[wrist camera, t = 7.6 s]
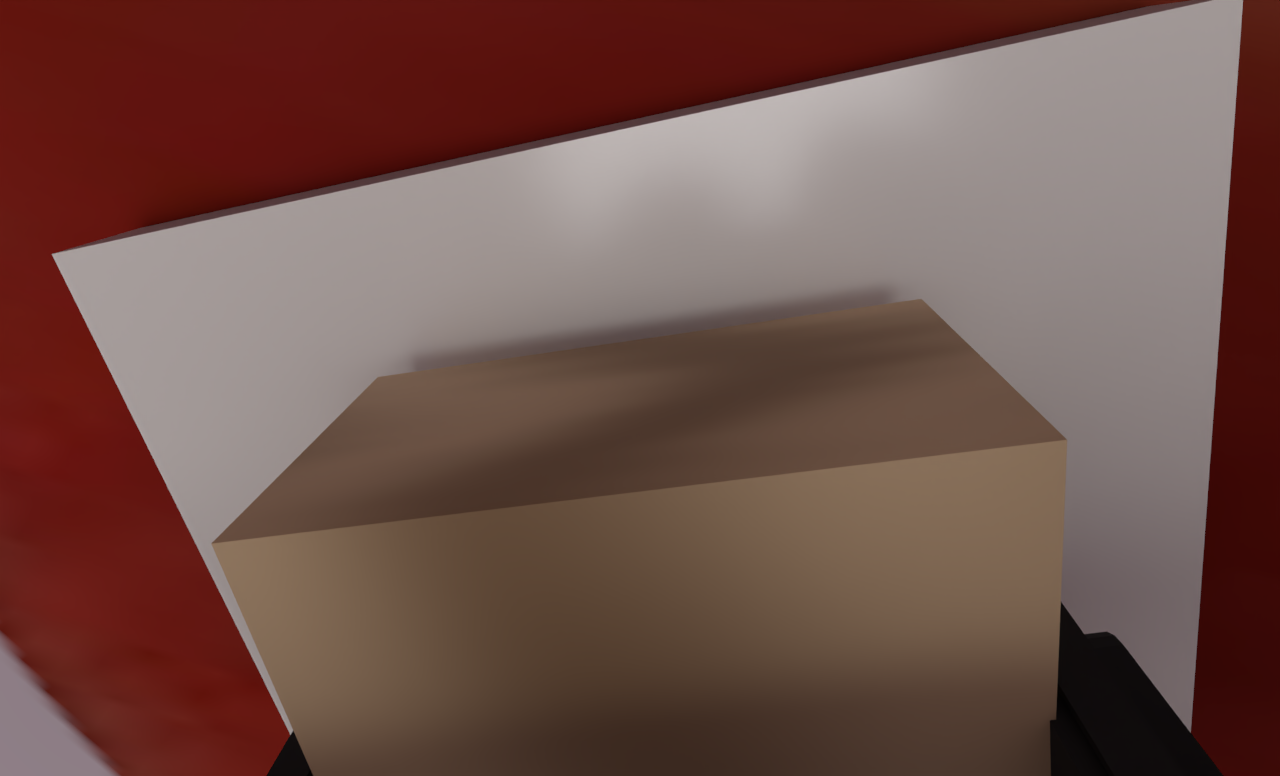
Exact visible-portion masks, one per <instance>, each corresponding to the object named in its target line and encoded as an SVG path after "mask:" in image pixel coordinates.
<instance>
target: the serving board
mask: <svg viewBox="0 0 1280 776" xmlns="http://www.w3.org/2000/svg"><path fill="white" fill-rule="evenodd" d="M1242 7H1243V0H1191V1H1184V2H1176V3H1169V4H1161V5H1154V6H1148V7H1143V8H1139V9H1134V10H1129V11H1125V12H1120V13H1116V14H1111V15H1107V16H1102V17H1098V18H1093V19H1088V20H1084V21H1079V22H1075V23H1070V24H1066V25H1061V26H1057V27H1052V28H1048V29H1043V30H1038V31H1034V32H1029V33H1025V34H1020V35H1016V36H1011V37H1007V38H1002V39H998V40H993V41H988V42H984V43H979V44H975V45H970V46H966V47H961V48H957V49H952V50H948V51H943V52H938V53H934V54H929V55H925V56H920V57H916V58H911V59H907V60H902V61H898V62H893V63H888V64H884V65H879V66H875V67H870V68H866V69H861V70H857V71H852V72H847V73H843V74H838V75H834V76H829V77H825V78H820V79H816V80H811V81H807V82H802V83H797V84H793V85H788V86H784V87H779V88H775V89H770V90H766V91H761V92H757V93H752V94H747V95H743V96H738V97H734V98H729V99H725V100H720V101H716V102H711V103H707V104H702V105H697V106H693V107H688V108H684V109H679V110H675V111H670V112H666V113H661V114H656V115H652V116H647V117H643V118H638V119H634V120H629V121H625V122H620V123H616V124H611V125H606V126H602V127H597V128H593V129H588V130H584V131H579V132H575V133H570V134H566V135H561V136H556V137H552V138H547V139H543V140H538V141H534V142H529V143H525V144H520V145H516V146H511V147H506V148H502V149H497V150H493V151H488V152H484V153H479V154H475V155H470V156H466V157H461V158H456V159H452V160H447V161H443V162H438V163H434V164H429V165H425V166H420V167H415V168H411V169H406V170H402V171H397V172H393V173H388V174H384V175H379V176H375V177H370V178H365V179H361V180H356V181H352V182H347V183H343V184H338V185H334V186H329V187H325V188H320V189H315V190H311V191H306V192H302V193H297V194H293V195H288V196H284V197H279V198H275V199H270V200H265V201H261V202H256V203H252V204H247V205H243V206H238V207H234V208H229V209H224V210H220V211H215V212H211V213H206V214H202V215H197V216H193V217H188V218H184V219H179V220H174V221H170V222H165V223H161V224H156V225H152V226H147V227H143V228H139V229H136V230H132V231H129V232H125V233H122V234H119V235H115V236H112V237H108V238H105V239H102V240H98V241H95V242H91V243H88V244H85V245H81V246H78V247H74V248H71V249H68V250H64V251H61V252H57V253H54V254H52V256H53V258H54V260H55V262H56V264H57V266H58V268H59V270H60V272H61V274H62V276H63V278H64V280H65V282H66V284H67V286H68V288H69V290H70V292H71V294H72V296H73V298H74V300H75V302H76V304H77V306H78V308H79V310H80V312H81V314H82V316H83V318H84V320H85V322H86V324H87V326H88V328H89V330H90V332H91V334H92V336H93V338H94V340H95V342H96V344H97V346H98V348H99V350H100V352H101V354H102V356H103V358H104V360H105V362H106V364H107V366H108V368H109V370H110V372H111V374H112V376H113V378H114V380H115V382H116V384H117V386H118V388H119V390H120V392H121V394H122V396H123V398H124V401H125V403H126V405H127V407H128V409H129V411H130V413H131V415H132V417H133V419H134V421H135V423H136V425H137V427H138V429H139V431H140V433H141V435H142V437H143V439H144V441H145V443H146V445H147V447H148V449H149V451H150V453H151V455H152V457H153V459H154V461H155V463H156V465H157V467H158V469H159V471H160V473H161V475H162V477H163V479H164V481H165V483H166V485H167V487H168V489H169V491H170V493H171V495H172V497H173V499H174V501H175V503H176V505H177V507H178V509H179V511H180V513H181V515H182V517H183V519H184V521H185V523H186V525H187V527H188V529H189V531H190V533H191V535H192V537H193V539H194V541H195V543H196V545H197V547H198V549H199V552H200V554H201V556H202V558H203V560H204V562H205V564H206V566H207V568H208V570H209V572H210V574H211V576H212V578H213V580H214V582H215V584H216V586H217V588H218V590H219V592H220V594H221V596H222V598H223V600H224V602H225V604H226V606H227V608H228V610H229V612H230V614H231V616H232V618H233V620H234V622H235V624H236V626H237V628H238V630H239V632H240V634H241V636H242V638H243V640H244V642H245V644H246V646H247V648H248V650H249V652H250V654H251V656H252V658H253V660H254V662H255V664H256V666H257V668H258V670H259V672H260V674H261V676H262V678H263V680H264V682H265V684H266V686H267V688H268V690H269V692H270V694H271V696H272V698H273V700H274V703H275V705H276V707H277V709H278V711H279V713H280V715H281V717H282V719H283V721H284V723H285V725H286V727H287V729H288V731H289V733H290V735H291V733H292V732H293V729H292V726H291V724H290V722H289V719H288V717H287V715H286V713H285V710H284V708H283V706H282V704H281V701H280V699H279V697H278V694H277V692H276V690H275V688H274V685H273V683H272V681H271V679H270V676H269V674H268V672H267V669H266V667H265V665H264V663H263V660H262V658H261V656H260V654H259V651H258V649H257V647H256V644H255V642H254V640H253V638H252V635H251V633H250V631H249V629H248V626H247V624H246V622H245V619H244V617H243V615H242V613H241V610H240V608H239V606H238V604H237V601H236V599H235V597H234V594H233V592H232V590H231V588H230V585H229V583H228V581H227V579H226V576H225V574H224V572H223V569H222V567H221V565H220V563H219V560H218V558H217V556H216V554H215V551H214V549H213V547H212V544H211V543H212V542H213V541H214V540H215V539H216V538H217V537H218V536H219V535H220V534H221V533H222V532H223V531H224V530H225V529H226V528H227V527H228V526H229V525H230V524H231V523H232V522H233V521H234V520H235V519H236V518H237V517H238V516H239V515H240V514H241V513H242V512H243V511H244V510H245V509H246V508H247V507H248V506H249V505H250V504H251V503H252V502H253V501H254V500H255V499H256V498H257V497H258V496H259V495H260V494H261V493H262V492H263V491H264V490H265V489H266V488H267V487H268V486H269V485H270V484H271V483H272V482H273V481H274V480H275V479H276V478H277V477H278V476H279V475H280V474H281V473H282V472H283V471H284V470H285V469H286V468H287V467H288V466H289V465H290V464H291V463H292V462H293V461H294V460H295V459H296V458H297V457H298V456H299V455H300V454H301V453H302V452H303V451H304V450H305V449H306V448H307V447H308V446H309V445H310V444H311V443H312V442H313V441H314V440H315V439H316V438H317V437H318V436H319V435H320V434H321V433H322V432H323V431H324V430H325V429H326V428H327V427H328V426H329V425H330V424H331V423H332V422H333V421H334V420H335V419H336V418H337V417H338V416H339V415H340V414H341V413H342V412H343V411H344V410H345V409H346V408H347V407H348V406H349V405H350V404H351V403H352V402H353V401H354V400H355V399H356V398H357V397H358V396H359V395H360V394H361V393H362V392H363V391H364V390H365V389H366V388H367V387H368V386H369V385H370V384H371V383H372V382H373V381H374V380H375V379H376V378H377V377H381V376H388V375H395V374H402V373H409V372H416V371H423V370H430V369H437V368H444V367H451V366H458V365H465V364H472V363H479V362H486V361H493V360H500V359H507V358H513V357H520V356H527V355H534V354H541V353H548V352H555V351H562V350H569V349H576V348H583V347H590V346H597V345H604V344H611V343H618V342H625V341H632V340H639V339H646V338H653V337H659V336H666V335H673V334H680V333H687V332H694V331H701V330H708V329H715V328H722V327H729V326H736V325H743V324H750V323H757V322H764V321H771V320H778V319H785V318H792V317H799V316H805V315H812V314H819V313H826V312H833V311H840V310H847V309H854V308H861V307H868V306H875V305H882V304H889V303H896V302H903V301H910V300H917V299H922V300H923V301H924V302H925V303H926V304H927V305H928V306H929V307H930V308H931V309H933V310H934V311H935V312H936V313H937V314H938V315H939V316H940V317H941V318H942V319H943V320H944V321H945V322H946V323H947V324H948V325H949V326H950V327H951V328H952V329H953V330H954V331H955V332H956V333H957V334H958V335H959V336H960V337H961V338H963V339H964V340H965V341H966V342H967V343H968V344H969V345H970V346H971V347H972V348H973V349H974V350H975V351H976V352H977V353H978V354H979V355H980V356H981V357H982V358H983V359H984V360H985V361H986V362H987V363H988V364H989V365H990V366H991V367H993V368H994V369H995V370H996V371H997V372H998V373H999V374H1000V375H1001V376H1002V377H1003V378H1004V379H1005V380H1006V381H1007V382H1008V383H1009V384H1010V385H1011V386H1012V387H1013V388H1014V389H1015V390H1016V391H1017V392H1018V393H1019V394H1020V395H1022V396H1023V397H1024V398H1025V399H1026V400H1027V401H1028V402H1029V403H1030V404H1031V405H1032V406H1033V407H1034V408H1035V409H1036V410H1037V411H1038V412H1039V413H1040V414H1041V415H1042V416H1043V417H1044V418H1045V419H1046V420H1047V421H1048V422H1049V423H1050V424H1052V425H1053V426H1054V427H1055V428H1056V429H1057V430H1058V431H1059V432H1060V433H1061V434H1062V435H1063V436H1064V437H1065V438H1066V439H1067V459H1066V484H1065V509H1064V534H1063V559H1062V583H1061V602H1062V603H1063V605H1064V606H1065V608H1066V609H1067V610H1068V612H1069V613H1070V615H1071V616H1072V618H1073V619H1074V620H1075V622H1076V623H1077V625H1078V626H1079V627H1080V629H1081V630H1082V632H1083V633H1084V634H1090V633H1098V632H1106V631H1107V632H1109V633H1111V634H1113V635H1115V636H1116V637H1117V638H1118V640H1119V641H1120V642H1121V643H1122V644H1123V645H1124V646H1125V648H1126V649H1127V650H1128V651H1129V653H1130V654H1131V655H1132V657H1133V658H1134V659H1135V661H1136V662H1137V663H1138V665H1139V666H1140V667H1141V668H1142V670H1143V671H1144V672H1145V674H1146V675H1147V676H1148V678H1149V679H1150V680H1151V682H1152V683H1153V684H1154V686H1155V687H1156V688H1157V689H1158V691H1159V692H1160V693H1161V695H1162V696H1163V697H1164V699H1165V700H1166V701H1167V703H1168V704H1169V705H1170V707H1171V708H1172V709H1173V710H1174V712H1175V713H1176V714H1177V716H1178V717H1179V718H1180V720H1181V721H1182V722H1183V724H1184V725H1185V726H1186V727H1187V729H1188V730H1189V731H1190V733H1191V722H1192V708H1193V694H1194V680H1195V666H1196V652H1197V638H1198V624H1199V610H1200V596H1201V582H1202V568H1203V554H1204V540H1205V526H1206V512H1207V498H1208V484H1209V470H1210V456H1211V442H1212V428H1213V414H1214V400H1215V386H1216V371H1217V357H1218V343H1219V329H1220V315H1221V301H1222V287H1223V273H1224V259H1225V245H1226V231H1227V217H1228V203H1229V189H1230V175H1231V161H1232V147H1233V133H1234V119H1235V105H1236V91H1237V77H1238V63H1239V49H1240V35H1241V21H1242Z"/></svg>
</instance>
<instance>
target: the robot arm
mask: <svg viewBox="0 0 1280 776" xmlns="http://www.w3.org/2000/svg"><path fill="white" fill-rule="evenodd" d="M1050 755H1051V776H1223V775H1222V773H1221V772H1220V771H1219V769H1218V768H1217V767H1216V765H1215V764H1214V763H1213V762H1212V760H1211V759H1210V758H1209V756H1208V755H1207V754H1206V752H1205V751H1204V750H1203V748H1202V747H1201V746H1200V745H1199V743H1198V742H1197V741H1196V739H1195V738H1194V737H1193V735H1192V734H1191V733H1190V731H1189V730H1188V729H1187V727H1186V726H1185V725H1184V724H1183V722H1182V721H1181V720H1180V718H1179V717H1178V716H1177V714H1176V713H1175V712H1174V710H1173V709H1172V708H1171V707H1170V705H1169V704H1168V703H1167V701H1166V700H1165V699H1164V697H1163V696H1162V695H1161V693H1160V692H1159V691H1158V689H1157V688H1156V687H1155V686H1154V684H1153V683H1152V682H1151V680H1150V679H1149V678H1148V676H1147V675H1146V674H1145V672H1144V671H1143V670H1142V668H1141V667H1140V666H1139V665H1138V663H1137V662H1136V661H1135V659H1134V658H1133V657H1132V655H1131V654H1130V653H1129V651H1128V650H1127V649H1126V648H1125V646H1124V645H1123V644H1122V643H1121V642H1120V641H1119V640H1118V638H1117V637H1116V636H1115V635H1113V634H1111V633H1109V632H1107V631H1106V632H1098V633H1090V634H1084V633H1083V632H1082V630H1081V629H1080V627H1079V626H1078V625H1077V623H1076V622H1075V620H1074V619H1073V618H1072V616H1071V615H1070V613H1069V612H1068V610H1067V609H1066V608H1065V606H1064V605H1063V603H1062V602H1061V608H1060V633H1059V658H1058V683H1057V708H1056V720H1050ZM267 776H313V774H312V772H311V769H310V767H309V765H308V763H307V760H306V758H305V756H304V754H303V751H302V749H301V747H300V744H299V742H298V740H297V738H296V735H295V733H294V731H293V732H292V733H291V735H290V737H289V738H288V740H287V742H286V744H285V745H284V747H283V749H282V750H281V752H280V754H279V756H278V757H277V759H276V761H275V762H274V764H273V766H272V767H271V769H270V771H269V773H268V774H267Z"/></svg>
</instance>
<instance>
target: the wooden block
mask: <svg viewBox="0 0 1280 776" xmlns="http://www.w3.org/2000/svg"><path fill="white" fill-rule="evenodd" d="M1066 459H1067V439H1066V438H1065V437H1064V436H1063V435H1062V434H1061V433H1060V432H1059V431H1058V430H1057V429H1056V428H1055V427H1054V426H1053V425H1052V424H1050V423H1049V422H1048V421H1047V420H1046V419H1045V418H1044V417H1043V416H1042V415H1041V414H1040V413H1039V412H1038V411H1037V410H1036V409H1035V408H1034V407H1033V406H1032V405H1031V404H1030V403H1029V402H1028V401H1027V400H1026V399H1025V398H1024V397H1023V396H1022V395H1020V394H1019V393H1018V392H1017V391H1016V390H1015V389H1014V388H1013V387H1012V386H1011V385H1010V384H1009V383H1008V382H1007V381H1006V380H1005V379H1004V378H1003V377H1002V376H1001V375H1000V374H999V373H998V372H997V371H996V370H995V369H994V368H993V367H991V366H990V365H989V364H988V363H987V362H986V361H985V360H984V359H983V358H982V357H981V356H980V355H979V354H978V353H977V352H976V351H975V350H974V349H973V348H972V347H971V346H970V345H969V344H968V343H967V342H966V341H965V340H964V339H963V338H961V337H960V336H959V335H958V334H957V333H956V332H955V331H954V330H953V329H952V328H951V327H950V326H949V325H948V324H947V323H946V322H945V321H944V320H943V319H942V318H941V317H940V316H939V315H938V314H937V313H936V312H935V311H934V310H933V309H931V308H930V307H929V306H928V305H927V304H926V303H925V302H924V301H923V300H922V299H917V300H910V301H903V302H896V303H889V304H882V305H875V306H868V307H861V308H854V309H847V310H840V311H833V312H826V313H819V314H812V315H805V316H799V317H792V318H785V319H778V320H771V321H764V322H757V323H750V324H743V325H736V326H729V327H722V328H715V329H708V330H701V331H694V332H687V333H680V334H673V335H666V336H659V337H653V338H646V339H639V340H632V341H625V342H618V343H611V344H604V345H597V346H590V347H583V348H576V349H569V350H562V351H555V352H548V353H541V354H534V355H527V356H520V357H513V358H507V359H500V360H493V361H486V362H479V363H472V364H465V365H458V366H451V367H444V368H437V369H430V370H423V371H416V372H409V373H402V374H395V375H388V376H381V377H377V378H376V379H375V380H374V381H373V382H372V383H371V384H370V385H369V386H368V387H367V388H366V389H365V390H364V391H363V392H362V393H361V394H360V395H359V396H358V397H357V398H356V399H355V400H354V401H353V402H352V403H351V404H350V405H349V406H348V407H347V408H346V409H345V410H344V411H343V412H342V413H341V414H340V415H339V416H338V417H337V418H336V419H335V420H334V421H333V422H332V423H331V424H330V425H329V426H328V427H327V428H326V429H325V430H324V431H323V432H322V433H321V434H320V435H319V436H318V437H317V438H316V439H315V440H314V441H313V442H312V443H311V444H310V445H309V446H308V447H307V448H306V449H305V450H304V451H303V452H302V453H301V454H300V455H299V456H298V457H297V458H296V459H295V460H294V461H293V462H292V463H291V464H290V465H289V466H288V467H287V468H286V469H285V470H284V471H283V472H282V473H281V474H280V475H279V476H278V477H277V478H276V479H275V480H274V481H273V482H272V483H271V484H270V485H269V486H268V487H267V488H266V489H265V490H264V491H263V492H262V493H261V494H260V495H259V496H258V497H257V498H256V499H255V500H254V501H253V502H252V503H251V504H250V505H249V506H248V507H247V508H246V509H245V510H244V511H243V512H242V513H241V514H240V515H239V516H238V517H237V518H236V519H235V520H234V521H233V522H232V523H231V524H230V525H229V526H228V527H227V528H226V529H225V530H224V531H223V532H222V533H221V534H220V535H219V536H218V537H217V538H216V539H215V540H214V541H213V542H212V543H211V544H212V547H213V549H214V551H215V554H216V556H217V558H218V560H219V563H220V565H221V567H222V569H223V572H224V574H225V576H226V579H227V581H228V583H229V585H230V588H231V590H232V592H233V594H234V597H235V599H236V601H237V604H238V606H239V608H240V610H241V613H242V615H243V617H244V619H245V622H246V624H247V626H248V629H249V631H250V633H251V635H252V638H253V640H254V642H255V644H256V647H257V649H258V651H259V654H260V656H261V658H262V660H263V663H264V665H265V667H266V669H267V672H268V674H269V676H270V679H271V681H272V683H273V685H274V688H275V690H276V692H277V694H278V697H279V699H280V701H281V704H282V706H283V708H284V710H285V713H286V715H287V717H288V719H289V722H290V724H291V726H292V729H293V731H294V733H295V735H296V738H297V740H298V742H299V744H300V747H301V749H302V751H303V754H304V756H305V758H306V760H307V763H308V765H309V767H310V769H311V772H312V774H313V776H1051V755H1050V720H1056V708H1057V683H1058V658H1059V633H1060V608H1061V583H1062V559H1063V534H1064V509H1065V484H1066Z"/></svg>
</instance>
